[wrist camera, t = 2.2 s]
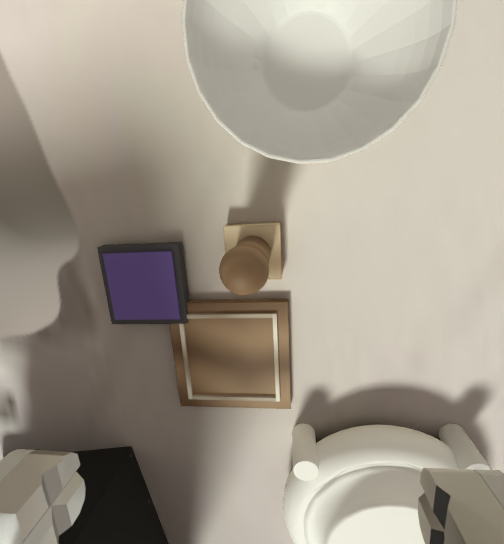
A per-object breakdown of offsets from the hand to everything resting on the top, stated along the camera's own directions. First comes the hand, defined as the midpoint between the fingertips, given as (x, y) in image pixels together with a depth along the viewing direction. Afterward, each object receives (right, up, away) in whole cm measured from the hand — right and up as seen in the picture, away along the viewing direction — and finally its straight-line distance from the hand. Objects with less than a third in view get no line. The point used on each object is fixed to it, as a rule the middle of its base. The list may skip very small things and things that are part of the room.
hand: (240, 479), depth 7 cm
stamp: (+1, +7, +22) cm, 23 cm away
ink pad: (-10, +4, +24) cm, 27 cm away
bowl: (+5, +22, +18) cm, 28 cm away
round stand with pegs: (+14, -20, +29) cm, 38 cm away
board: (-2, -4, +26) cm, 26 cm away
